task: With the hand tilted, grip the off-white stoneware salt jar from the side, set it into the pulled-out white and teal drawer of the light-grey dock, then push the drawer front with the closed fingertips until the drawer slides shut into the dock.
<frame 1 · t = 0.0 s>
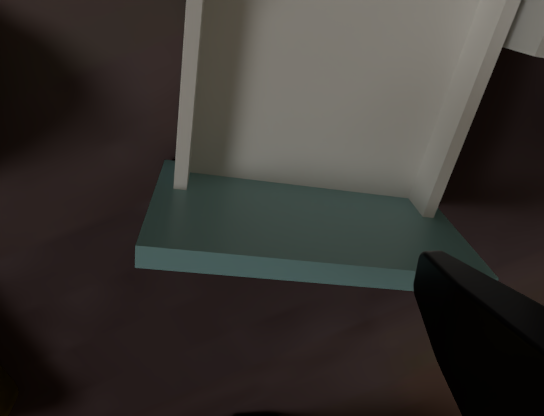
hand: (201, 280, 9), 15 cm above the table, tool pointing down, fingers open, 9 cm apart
white and teal drawer: (337, 110, 18), point 4 cm above the table, slide at 8.0 cm
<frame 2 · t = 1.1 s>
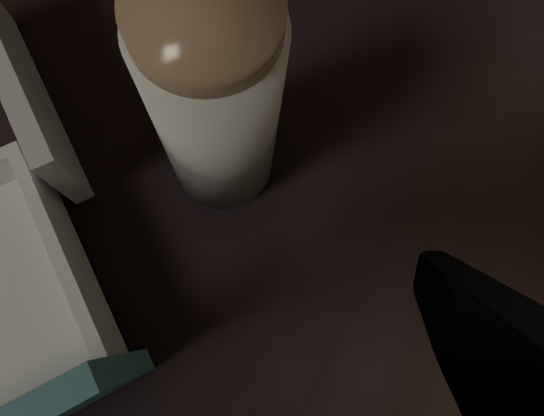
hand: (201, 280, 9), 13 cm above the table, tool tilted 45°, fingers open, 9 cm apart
salt jar: (223, 163, 24), on the table
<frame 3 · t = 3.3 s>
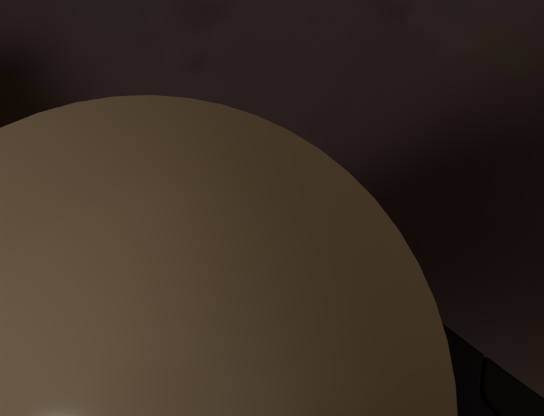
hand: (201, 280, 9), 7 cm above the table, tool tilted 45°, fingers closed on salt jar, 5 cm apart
salt jar: (221, 342, 15), on the table, touching gripper
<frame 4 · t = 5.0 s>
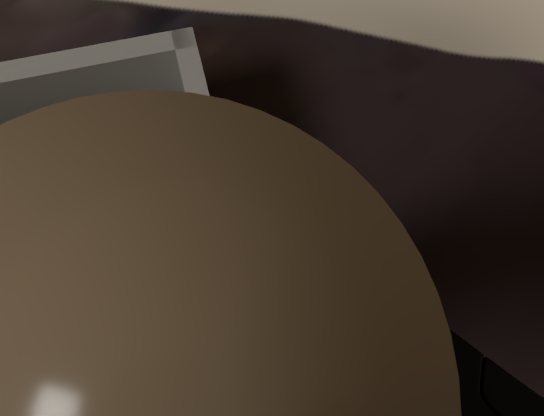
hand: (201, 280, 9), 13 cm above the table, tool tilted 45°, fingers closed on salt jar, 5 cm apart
dock housing: (77, 236, 22), on the table
salt jar: (222, 341, 15), point 7 cm above the table, touching gripper
when the fingers open (9 cm above the table, at t = 6.5 s): salt jar drops 1 cm, resting on white and teal drawer.
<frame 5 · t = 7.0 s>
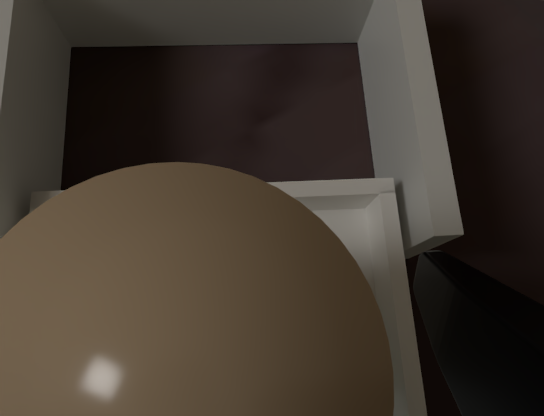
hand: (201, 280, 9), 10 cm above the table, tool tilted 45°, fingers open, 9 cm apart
white and teal drawer: (221, 357, 13), point 4 cm above the table, slide at 7.9 cm, touching salt jar
dock housing: (221, 158, 20), on the table
salt jar: (224, 341, 16), point 2 cm above the table, touching white and teal drawer
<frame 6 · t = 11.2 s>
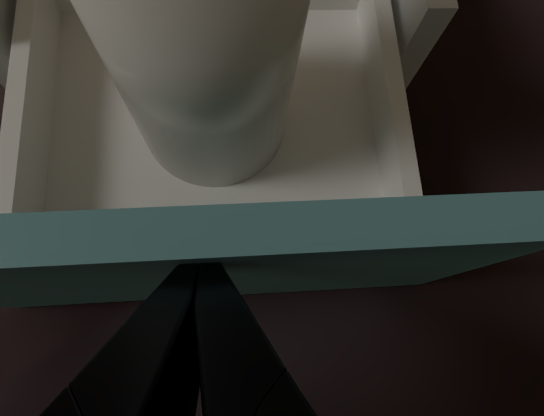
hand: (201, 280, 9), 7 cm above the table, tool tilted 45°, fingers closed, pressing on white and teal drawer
white and teal drawer: (209, 89, 13), point 4 cm above the table, slide at 6.9 cm, touching gripper, salt jar
salt jar: (214, 120, 16), point 2 cm above the table, touching white and teal drawer
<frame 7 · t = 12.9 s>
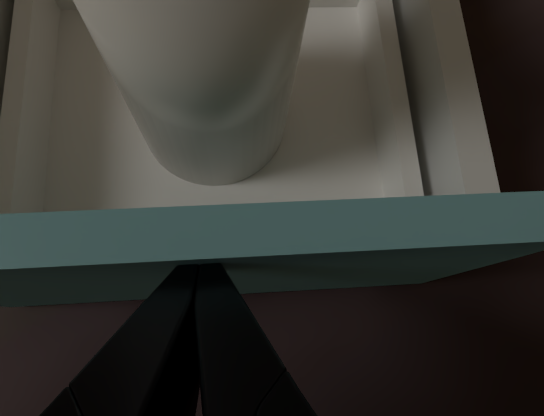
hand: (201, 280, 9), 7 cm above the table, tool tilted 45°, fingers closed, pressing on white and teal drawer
white and teal drawer: (209, 87, 13), point 4 cm above the table, slide at -0.1 cm, touching gripper, salt jar
dock housing: (218, 138, 17), on the table
salt jar: (214, 119, 16), point 2 cm above the table, touching white and teal drawer
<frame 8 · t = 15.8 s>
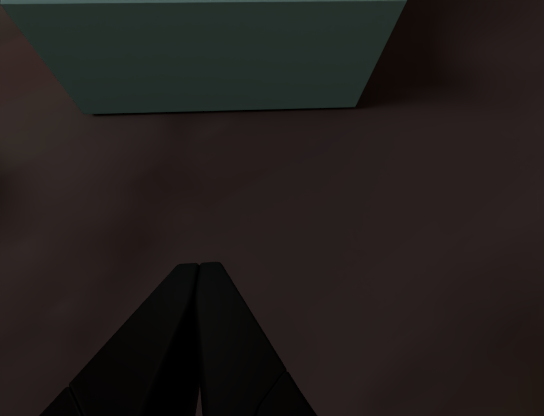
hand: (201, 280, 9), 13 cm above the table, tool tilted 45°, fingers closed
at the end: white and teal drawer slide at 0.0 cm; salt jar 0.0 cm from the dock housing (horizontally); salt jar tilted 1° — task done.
